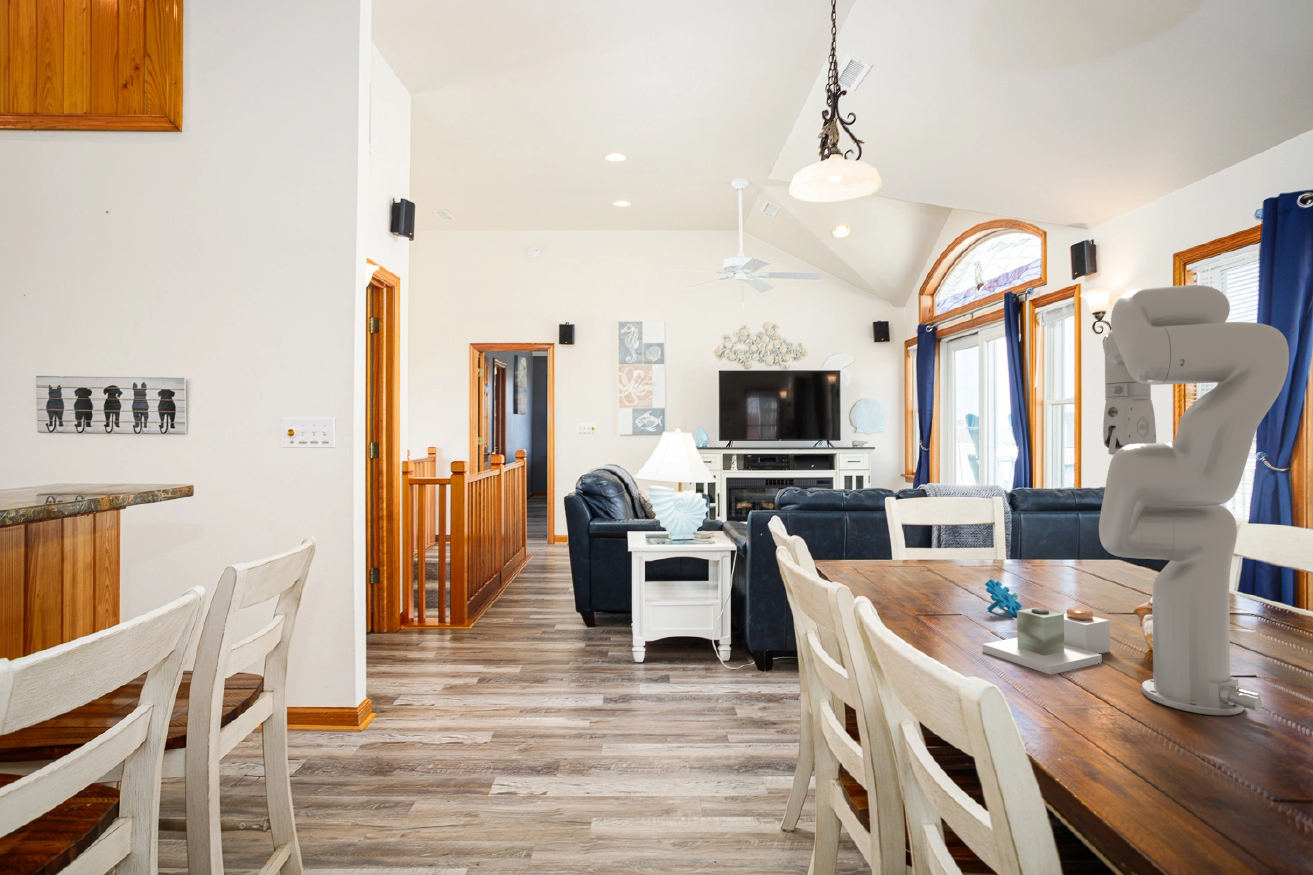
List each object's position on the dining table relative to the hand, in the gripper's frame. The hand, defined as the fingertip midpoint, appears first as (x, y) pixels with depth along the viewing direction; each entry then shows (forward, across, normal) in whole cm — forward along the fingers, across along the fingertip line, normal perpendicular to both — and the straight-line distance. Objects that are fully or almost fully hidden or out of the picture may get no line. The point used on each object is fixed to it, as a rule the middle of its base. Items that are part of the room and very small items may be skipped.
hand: (1128, 483), depth 134 cm
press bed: (+32, -20, +2) cm, 38 cm away
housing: (+31, -24, +2) cm, 39 cm away
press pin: (+31, -12, +2) cm, 33 cm away
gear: (+32, -2, +27) cm, 42 cm away
